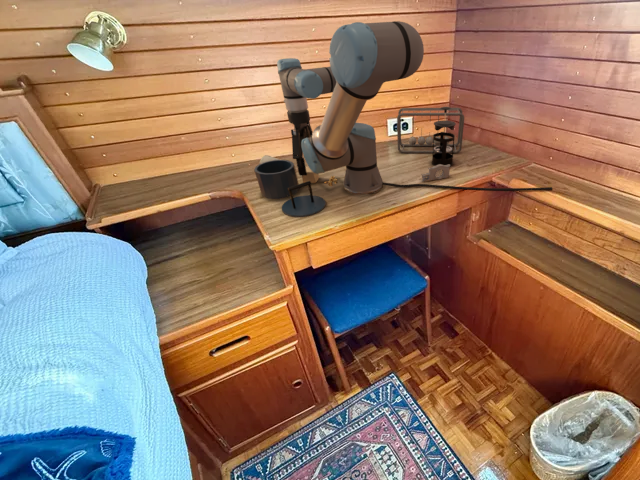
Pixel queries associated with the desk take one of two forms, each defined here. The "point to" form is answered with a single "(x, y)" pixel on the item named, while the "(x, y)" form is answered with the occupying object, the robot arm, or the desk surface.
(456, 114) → the newton's cradle
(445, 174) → the garden wall model
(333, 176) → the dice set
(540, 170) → the desk surface
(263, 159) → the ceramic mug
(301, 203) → the lid
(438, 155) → the french press
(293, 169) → the pot
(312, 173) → the block
